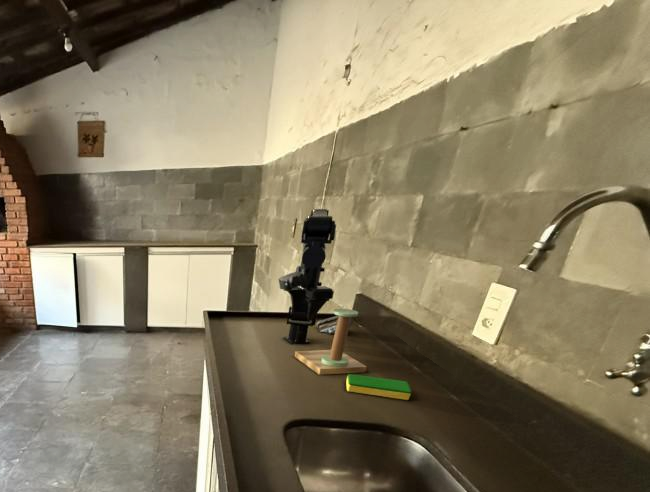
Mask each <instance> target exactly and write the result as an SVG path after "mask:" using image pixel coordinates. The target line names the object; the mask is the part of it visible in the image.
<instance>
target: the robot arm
mask: <svg viewBox="0 0 650 492" xmlns="http://www.w3.org/2000/svg"><path fill="white" fill-rule="evenodd" d="M329 212H330V210H329V209H327V208H314V209H311V213H310V215H308V217H306V218H305V219H304V220H303V224H302V225H303V226H302V231H301V241H300V244H302V247H303V250H302V255H301V261H300V265H297V267H296V268H295V271H294V272H290V273H287V274H285V275H282V276H280V277H278V283H279V289H280V290H283V291H284V292H287V293H288V294H289V296H290V301H291V306H289V307H288V312H287V319H286V325H289V329H288V336H283V339H284V340H286V341H287V342H289V343H290V344H294V345H296V344H297V345H298V344H310V340H308V339H307V337H308V330H309V327H313V326H316V323H317V322H316V321H317V318H318V313H319V311H320V310H321V309H322V308H323V306H325V304H326V303H327V302H330V300H333V298H334V295H335V291H334V290H333V288H331V287H328V286H326V285H324V286H323V285H322V284H323V282H321V281H320V279H321V274H322V272H323V273H324V272H325V271H326V268H325V267H323V264H324V262H325V261H326V257H327V255H326V244H328V245H329V244H332V241H334V240H335V237H336V230H337V224H336V220H333V216H332V215H329Z"/></svg>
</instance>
